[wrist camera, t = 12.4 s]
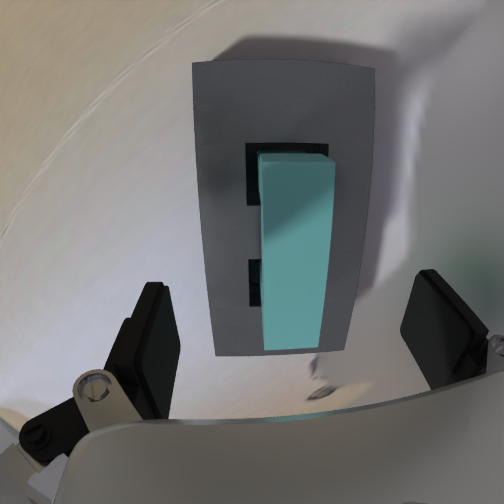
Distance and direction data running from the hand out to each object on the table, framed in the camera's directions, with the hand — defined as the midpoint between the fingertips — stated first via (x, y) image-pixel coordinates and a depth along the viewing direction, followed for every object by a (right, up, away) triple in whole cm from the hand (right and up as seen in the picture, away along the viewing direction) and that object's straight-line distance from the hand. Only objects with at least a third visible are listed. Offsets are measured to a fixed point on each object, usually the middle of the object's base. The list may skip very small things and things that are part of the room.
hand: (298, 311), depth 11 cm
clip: (0, +5, +10) cm, 11 cm away
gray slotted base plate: (0, +5, +10) cm, 11 cm away
